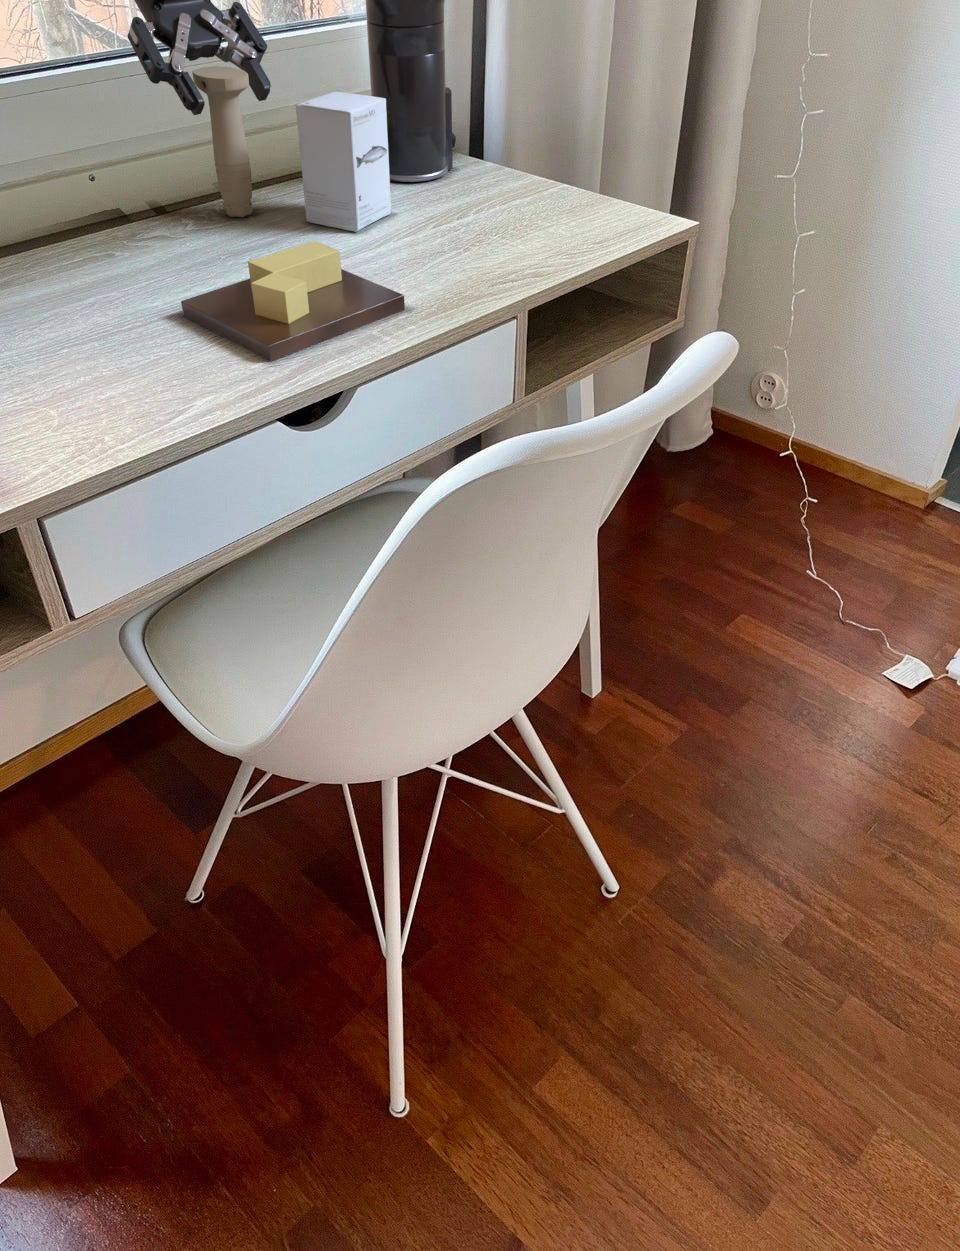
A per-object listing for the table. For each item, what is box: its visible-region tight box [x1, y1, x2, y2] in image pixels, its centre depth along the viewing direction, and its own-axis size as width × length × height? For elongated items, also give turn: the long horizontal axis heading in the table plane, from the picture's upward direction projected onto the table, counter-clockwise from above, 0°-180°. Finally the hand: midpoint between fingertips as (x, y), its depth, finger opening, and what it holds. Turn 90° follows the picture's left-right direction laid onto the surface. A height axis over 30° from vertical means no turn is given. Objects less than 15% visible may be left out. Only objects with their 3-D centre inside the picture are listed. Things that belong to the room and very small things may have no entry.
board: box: [180, 268, 406, 362], centre depth 100 cm, size 16×14×2 cm
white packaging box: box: [295, 91, 392, 233], centre depth 117 cm, size 7×7×13 cm
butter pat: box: [251, 273, 309, 324], centre depth 96 cm, size 3×4×3 cm
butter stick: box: [247, 239, 342, 293], centre depth 101 cm, size 8×4×3 cm, turn 136°
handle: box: [191, 65, 254, 218], centre depth 117 cm, size 5×6×15 cm
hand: (233, 102), depth 114 cm, fingers open, 8 cm apart
